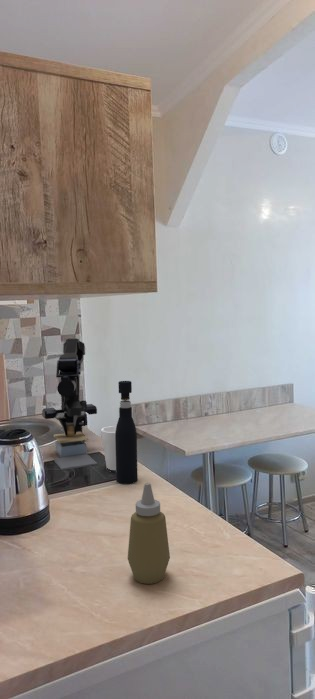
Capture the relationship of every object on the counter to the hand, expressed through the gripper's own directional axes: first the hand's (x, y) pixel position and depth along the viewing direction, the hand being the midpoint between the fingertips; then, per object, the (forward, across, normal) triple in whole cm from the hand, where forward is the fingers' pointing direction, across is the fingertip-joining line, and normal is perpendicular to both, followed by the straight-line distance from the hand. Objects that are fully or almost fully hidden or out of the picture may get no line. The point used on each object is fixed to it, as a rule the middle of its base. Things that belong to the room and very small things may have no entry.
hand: (70, 434), depth 172 cm
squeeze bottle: (+7, -7, -86) cm, 87 cm away
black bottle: (+7, +8, -35) cm, 37 cm away
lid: (+1, 0, 0) cm, 1 cm away
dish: (+7, 0, 0) cm, 7 cm away
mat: (+7, -1, -11) cm, 13 cm away
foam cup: (+7, +9, -23) cm, 26 cm away
